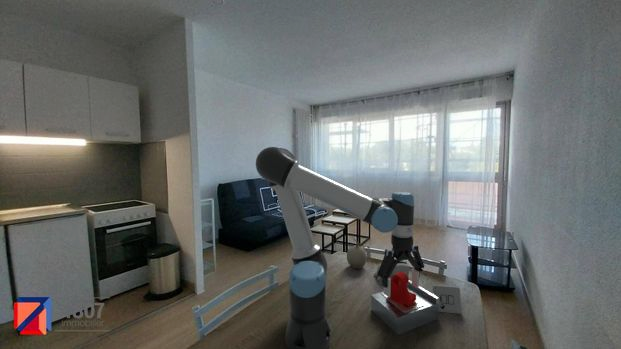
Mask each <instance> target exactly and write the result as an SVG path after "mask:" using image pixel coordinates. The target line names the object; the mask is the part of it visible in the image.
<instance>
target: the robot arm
mask: <svg viewBox="0 0 621 349" xmlns="http://www.w3.org/2000/svg"><path fill="white" fill-rule="evenodd" d="M255 168H256V172H257V174H258V175H259V176H260V177H262V178H263V179H264V180H265V181H267V183H268V185H269V188H270V189H272V190H273V191H274V192H275V193H276V197H277V200H278V204H279V208H280V211H281V214H282V217H283V220H284V223H285V227H286V230H287V233H288V236H289V240H290V243H291V246H292V249H293V251H292V253H291V255H290V256H291V260H292V264H293V266H292V267H291V269H290V272H289V275H288V276H289V277H288V285H289V307H290V308H289V312H290V314H289V319H288V322H287V325H286V329H285V332H284V333H285V336H284V337H285V345H286V346H287V348H288V349H329V347H330V345H331V343H332V329H331V325H330V322H329V319H328V316H327V312H326V311H327V310H326V309H327V308H326V307H327V304H326V301H327V300H326V287H327V282H326V281H327V270H328V262H327V259H326V257H325V255H324V253H323V252H322V249H321V246H320V244H318V243H316V242H315V239H314V236H313V233H312V229H311V226H310V222H309V220H308V216H307V212H306V210H305V207H304V203H303V200H302V196H301V193H303V194H304V195H307V196H309V197H311V198H313V199H315V200H317V201H319V202H322V203H324V204H326V205H328V206H330V207H332V208H334V209H337V210H340V211H341V212H343V213H346V214H348V215H349V216H352V217H354V218H357V219H358V220H361V221H363V222H364V223H367V224H369V225H371V226H372V227H373V228H374V229H375V230H376V231H377V232H380V233H384V234H385V233H386V234H387V233H390V232H391V234H390V235H391V236H390V237H391V239H390V241H391V242H390V243H391V245H392V249H387V248H386V249H385V250H384V256H383V259H382V261H381V263H380V264H381V266H380V269H379V271H378V274H377V275H378V276H379V277H381V278H382V280H381V281H382V282H381V285H382V287H383V292H384V294H385V295H386V296H388V297H390V283H391V279H390V278H389V277H390V275H391V273H392V272H393V270H394V268H395V267H396V265H397V264H398V263H399V262H400V261H403V260H404V261H408V262H409V263H410V265H411V266H412V268H411V281H412V286H414V287H415V288H417V289H418V288H419V286H420V277H421V275H420V273H421V272H423V270H424V269H425V264H424V261H423V258H422V256H421V254H420V248H419V246H418V245H416V244H414V236H413V235H414V214H415V197H414V194H413V193H411V192H405V191H394V192H392V193H391V196H390V197H386V198H384V197H369V196H367V195H364V194H362V193H360V192H359V191H356V190H354V189H351V188H350V187H348V186H345V185H343V184H341V183H338V182H337V181H335V180H332V179H330V178H328V177H326V176H324V175H322V174H319V173H318V172H316V171H312V170H311V169H308V168H306V167H305V166H302V165H300V162H299V160H297V159H296V157H295V156H294V154H293V153H292V152H291V151H290V150H289V149H286V148H283V147H276V146H268V147H266V148H263V149H262V150H261V151H260V152H259V153H258V154H257V156H256V159H255ZM300 192H301V193H300Z"/></svg>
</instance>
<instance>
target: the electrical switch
mask: <svg viewBox="0 0 621 349" xmlns="http://www.w3.org/2000/svg"><path fill="white" fill-rule="evenodd" d="M432 291H433V292H432V294H433V295H435V296H437V297H438V298H439V313H447V314H455V315H456V314H458V315H462V313H463V311H462V310H463V309H462V299H461V289H460V287H458V286H454V285H452V286H451V285H442V284H441V285H440V284H433V285H432Z"/></svg>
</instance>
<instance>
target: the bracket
mask: <svg viewBox="0 0 621 349" xmlns="http://www.w3.org/2000/svg"><path fill="white" fill-rule="evenodd" d="M409 280H410V279H409V276H407V275H406V274H405V273H404V272H398V273H397V274H395V275H393V276H392V278H391V283H390V297H391V298H392V300H393V301H395V302H397V303H399V304H401V305H404V304H405V305H407V306H410V305H411V304H412V303H413V302H414V301H416V295H415V294H414V293H411V292H409V291H408V288H407V284H408V282H409Z"/></svg>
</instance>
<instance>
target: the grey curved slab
mask: <svg viewBox="0 0 621 349" xmlns="http://www.w3.org/2000/svg"><path fill="white" fill-rule="evenodd" d="M380 266H381V263H380V264H378V267H377V270H376V272H374V274H373V276H374V277H376V279H377V281H378V282H379V281H382V278H381V277H379V276H378V275H377V274H378V271H379V269H380ZM398 272H404V273H405V274H406V275H407V276H408V277H409V275H410V265H409V263H408V262H407V260H403V261H400V262H399V263H398V264H397V265H396V267H395V268H394V270H393V272H392V273H391V275H390V277H389V278H390V279H391V278H392V276H393V275H395V274H397V273H398Z"/></svg>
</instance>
